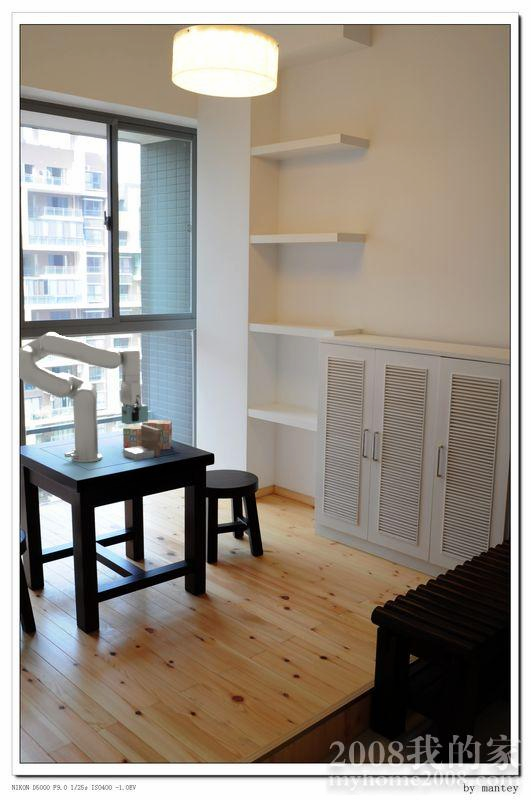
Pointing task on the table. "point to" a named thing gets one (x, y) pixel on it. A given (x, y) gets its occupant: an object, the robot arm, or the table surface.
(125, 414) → the teal cabinet
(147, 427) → the wooden bookend
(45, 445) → the table surface
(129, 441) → the stack of blocks
